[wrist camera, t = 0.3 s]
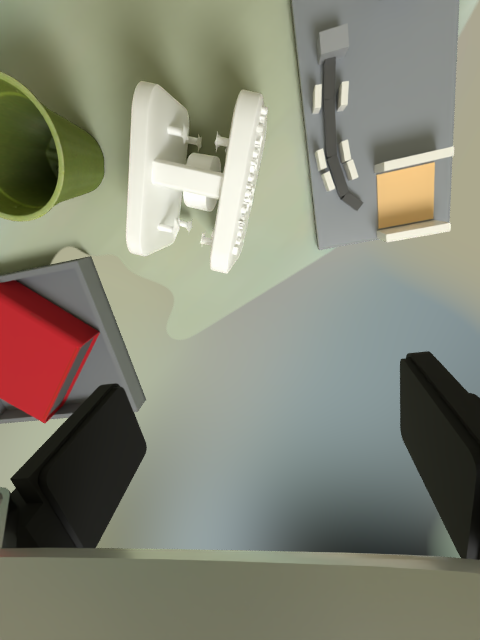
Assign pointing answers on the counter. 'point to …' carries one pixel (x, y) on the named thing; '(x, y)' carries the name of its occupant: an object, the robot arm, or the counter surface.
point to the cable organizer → (190, 174)
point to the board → (378, 115)
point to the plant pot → (41, 155)
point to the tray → (93, 309)
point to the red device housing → (39, 351)
